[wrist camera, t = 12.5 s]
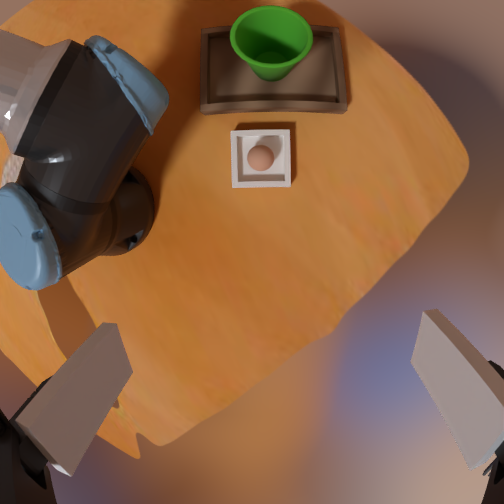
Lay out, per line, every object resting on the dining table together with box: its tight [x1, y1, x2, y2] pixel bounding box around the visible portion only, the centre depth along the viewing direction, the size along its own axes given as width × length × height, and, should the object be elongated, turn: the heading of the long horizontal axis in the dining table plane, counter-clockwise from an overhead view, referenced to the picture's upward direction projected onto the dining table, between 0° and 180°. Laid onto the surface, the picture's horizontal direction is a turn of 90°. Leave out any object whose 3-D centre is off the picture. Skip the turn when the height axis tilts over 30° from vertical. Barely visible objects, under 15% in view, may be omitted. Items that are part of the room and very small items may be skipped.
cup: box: [230, 6, 313, 82], centre depth 28 cm, size 9×9×11 cm
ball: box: [247, 145, 274, 171], centre depth 36 cm, size 4×4×4 cm
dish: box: [231, 129, 291, 188], centre depth 37 cm, size 8×8×2 cm
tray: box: [200, 25, 347, 115], centre depth 33 cm, size 20×14×3 cm
